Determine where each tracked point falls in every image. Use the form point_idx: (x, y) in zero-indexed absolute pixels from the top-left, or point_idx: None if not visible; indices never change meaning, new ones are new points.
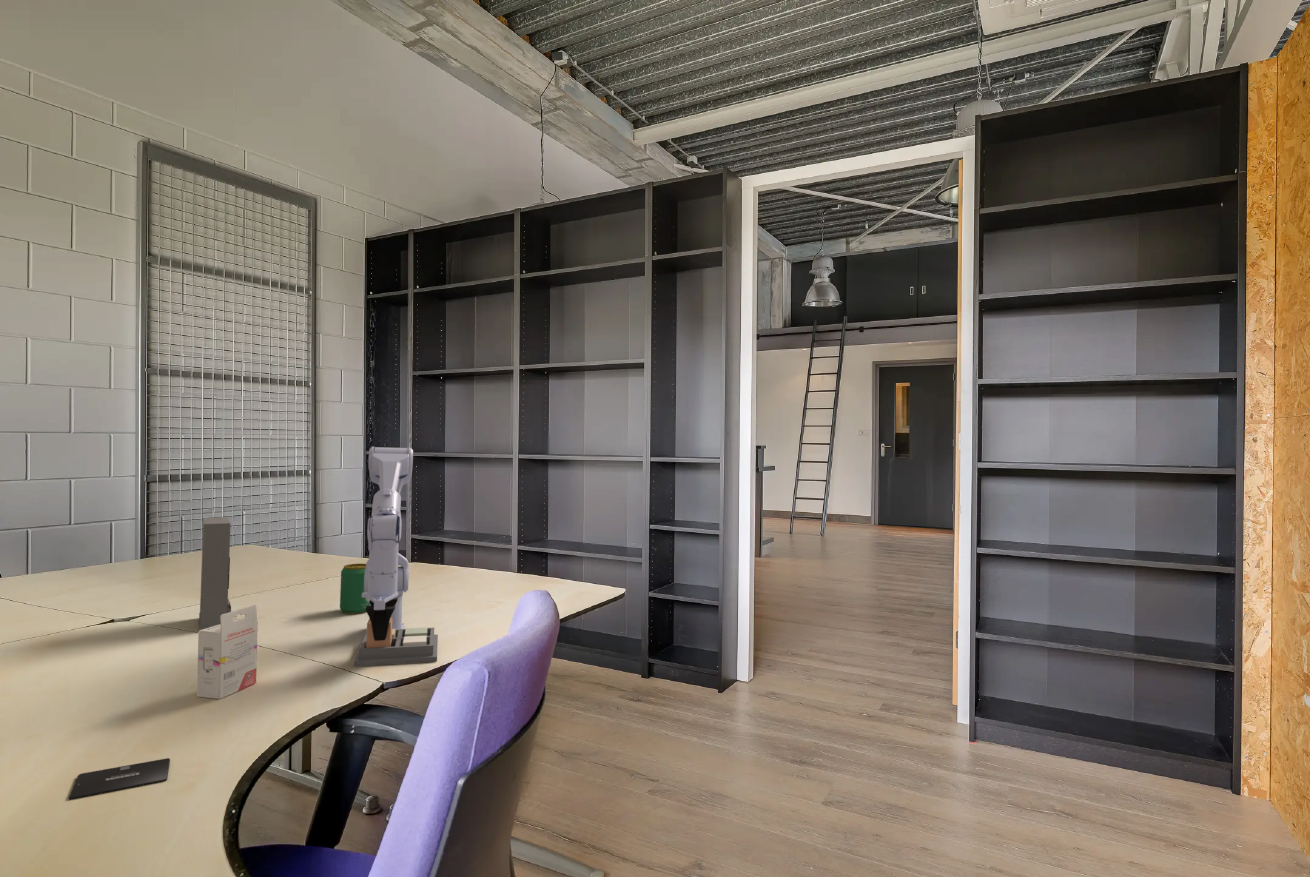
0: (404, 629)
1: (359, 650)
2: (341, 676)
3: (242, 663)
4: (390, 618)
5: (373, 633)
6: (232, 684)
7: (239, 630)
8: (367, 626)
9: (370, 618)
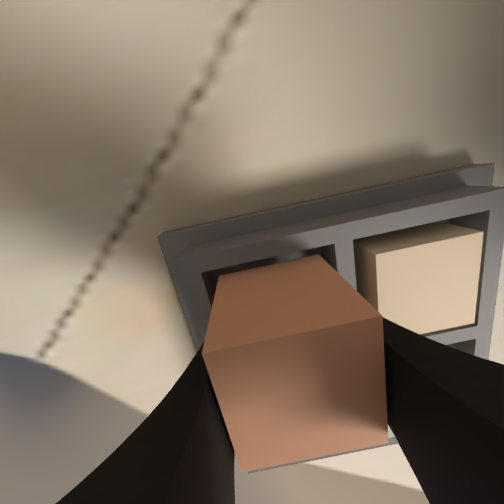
0: (481, 342)
1: (179, 259)
2: (53, 227)
3: None
4: (352, 443)
5: (198, 352)
6: None
7: None
8: (205, 343)
9: (112, 458)
